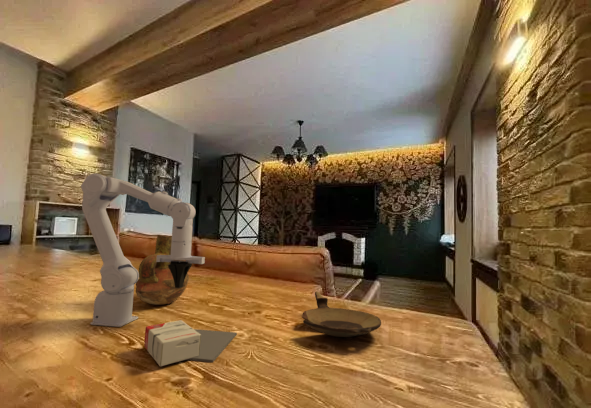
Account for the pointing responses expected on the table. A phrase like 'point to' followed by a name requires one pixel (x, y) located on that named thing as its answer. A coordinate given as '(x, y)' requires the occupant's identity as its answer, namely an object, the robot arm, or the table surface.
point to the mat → (212, 344)
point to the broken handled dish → (339, 320)
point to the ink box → (172, 342)
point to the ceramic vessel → (158, 277)
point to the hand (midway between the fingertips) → (178, 287)
